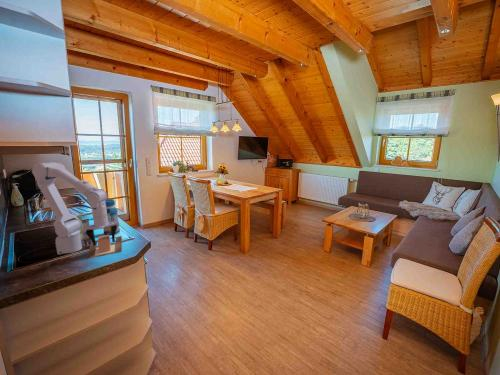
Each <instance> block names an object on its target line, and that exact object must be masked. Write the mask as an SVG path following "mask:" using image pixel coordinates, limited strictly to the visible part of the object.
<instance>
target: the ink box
mask: <svg viewBox="0 0 500 375" xmlns="http://www.w3.org/2000/svg"><path fill="white" fill-rule="evenodd" d="M76 216H77V218H78V219H79V220H80V221H81V222H82V228H81V229H80V231H81V232H80V238H81V242H82V241H87V240H91V239H90V238H89V237H88V235H87V234H86V232H83V227H85V226H90V225H89V222H88V221H84V220H83V218H82V215H81V214H79V215H76Z"/></svg>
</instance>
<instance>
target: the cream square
mask: <svg viewBox="0 0 500 375" xmlns="http://www.w3.org/2000/svg"><path fill="white" fill-rule="evenodd" d="M112 252H115V244H114V245H111V250H110V251H107V252H102V253H99V248H96V251H95V255H94V256H98V255H102V254H107V253H112Z"/></svg>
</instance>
